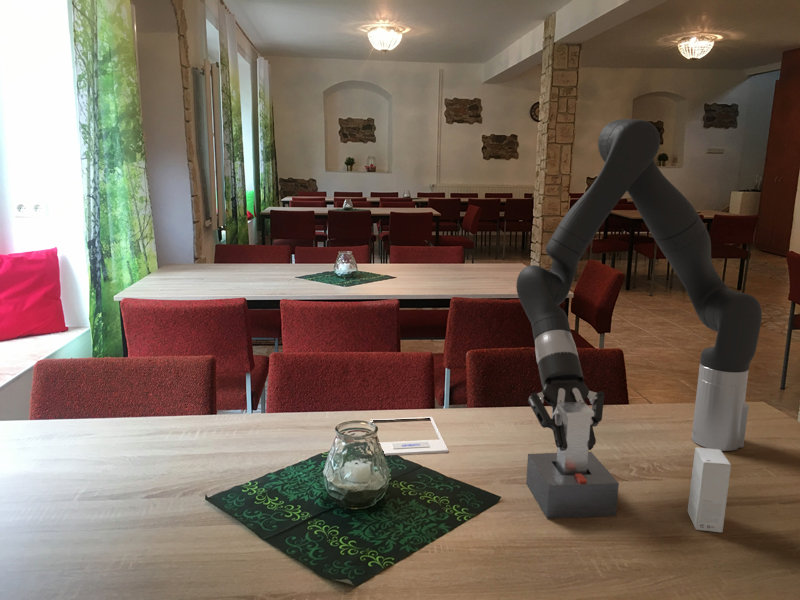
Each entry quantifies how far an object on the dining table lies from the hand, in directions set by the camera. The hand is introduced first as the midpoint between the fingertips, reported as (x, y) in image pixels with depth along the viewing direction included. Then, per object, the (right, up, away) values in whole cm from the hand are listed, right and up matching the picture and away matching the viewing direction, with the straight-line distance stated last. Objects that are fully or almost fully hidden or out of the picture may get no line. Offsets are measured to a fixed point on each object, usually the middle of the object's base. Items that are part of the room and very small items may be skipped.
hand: (577, 448), depth 109 cm
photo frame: (-29, -5, +30) cm, 42 cm away
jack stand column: (0, -10, +4) cm, 11 cm away
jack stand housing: (0, -10, +4) cm, 11 cm away
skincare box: (+20, -12, -3) cm, 24 cm away
